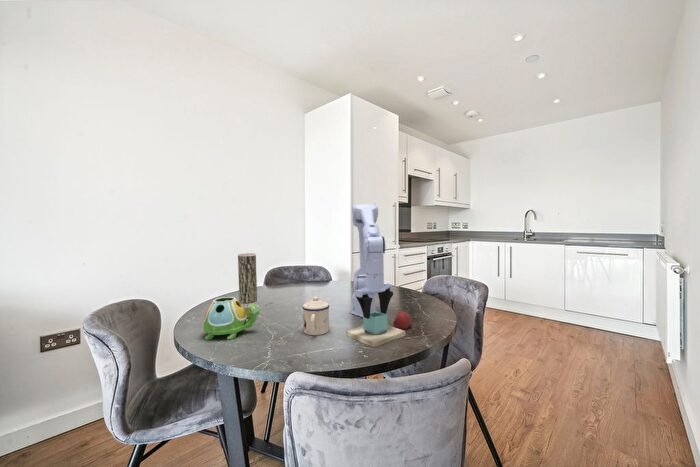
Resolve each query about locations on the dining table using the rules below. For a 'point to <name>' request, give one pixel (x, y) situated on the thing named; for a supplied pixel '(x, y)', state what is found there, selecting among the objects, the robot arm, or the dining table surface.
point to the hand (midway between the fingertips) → (375, 315)
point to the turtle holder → (228, 317)
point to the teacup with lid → (316, 317)
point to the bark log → (247, 280)
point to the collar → (375, 322)
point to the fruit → (402, 320)
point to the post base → (375, 336)
